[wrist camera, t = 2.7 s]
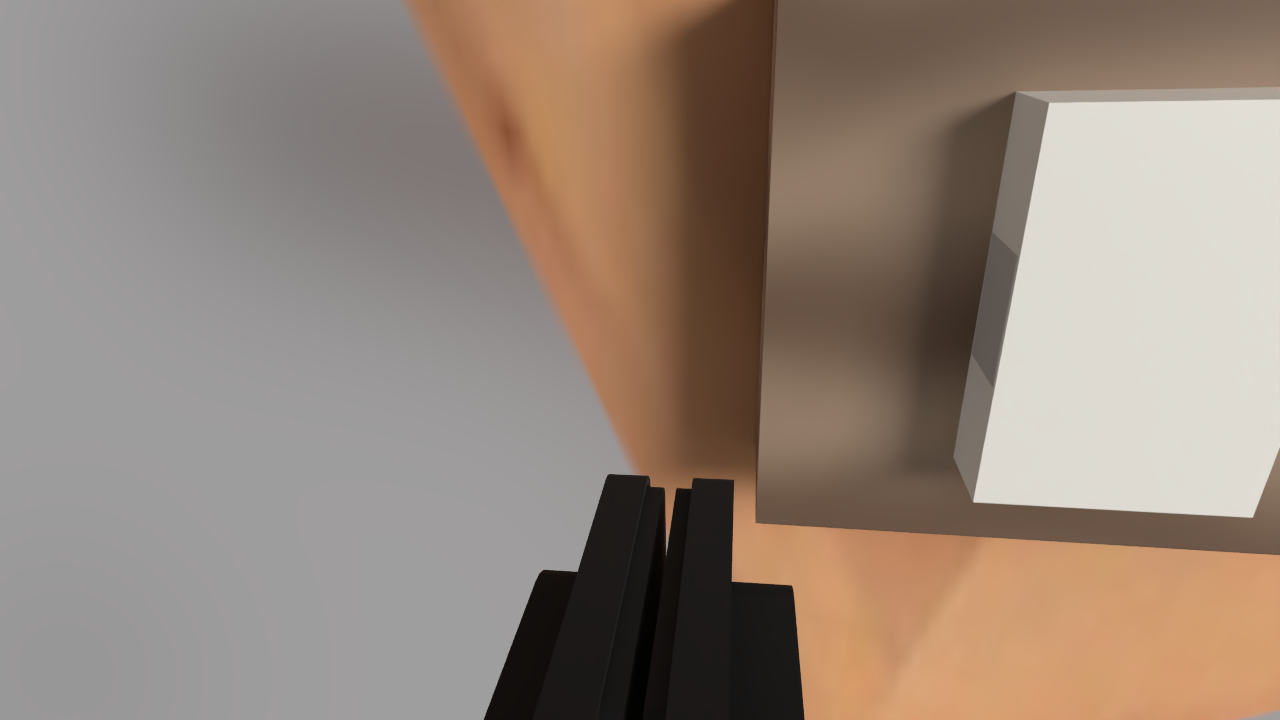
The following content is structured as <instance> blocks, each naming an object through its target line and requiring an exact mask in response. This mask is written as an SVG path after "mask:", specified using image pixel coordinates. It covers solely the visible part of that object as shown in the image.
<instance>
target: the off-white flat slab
mask: <svg viewBox="0 0 1280 720" xmlns="http://www.w3.org/2000/svg"><path fill="white" fill-rule="evenodd" d="M1279 448H1280V87H1261V88H1200V89H1139V90H1078V91H1017V92H1016V95H1015V101H1014V107H1013V113H1012V118H1011V124H1010V130H1009V136H1008V142H1007V147H1006V153H1005V159H1004V165H1003V171H1002V177H1001V182H1000V188H999V194H998V200H997V206H996V211H995V217H994V223H993V229H992V235H991V241H990V246H989V252H988V258H987V264H986V270H985V275H984V281H983V287H982V293H981V299H980V304H979V310H978V316H977V322H976V328H975V334H974V339H973V345H972V351H971V357H970V363H969V368H968V374H967V380H966V386H965V392H964V398H963V403H962V409H961V415H960V421H959V427H958V432H957V438H956V444H955V450H954V456H953V457H954V460H955V462H956V464H957V466H958V469H959V471H960V473H961V476H962V478H963V480H964V483H965V485H966V487H967V490H968V492H969V494H970V496H971V499H972V501H973V502H976V503H994V504H1012V505H1030V506H1048V507H1066V508H1085V509H1103V510H1121V511H1139V512H1157V513H1175V514H1193V515H1212V516H1230V517H1248V518H1253V516H1254V513H1255V510H1256V508H1257V505H1258V503H1259V500H1260V498H1261V495H1262V492H1263V490H1264V487H1265V485H1266V482H1267V479H1268V477H1269V474H1270V472H1271V469H1272V466H1273V464H1274V461H1275V459H1276V456H1277V453H1278V451H1279Z"/></svg>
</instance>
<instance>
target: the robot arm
mask: <svg viewBox="0 0 1280 720" xmlns="http://www.w3.org/2000/svg"><path fill="white" fill-rule="evenodd" d="M733 501H734V480H724V479H702V478H693V482H692V489H682V488H677V489H676V495H675V501H674V508H673V515H672V522H671V528H670V535H669V542H668V549H667V555H666V520H665V489H664V488H661V487H650V478H649V476H638V475H615V474H609V475H608V476H607V478H606V481H605V484H604V487H603V491H602V494H601V497H600V500H599V504H598V508H597V510H596V513H595V517H594V520H593V523H592V526H591V530H590V533H589V536H588V540H587V543H586V546H585V549H584V553H583V556H582V559H581V562H580V566H579V569H578V572H569V571H554V570H543V571H542V572H541V573H540V574H539V576H538V578H537V580H536V582H535V585H534V587H533V590H532V592H531V595H530V598H529V600H528V603H527V606H526V608H525V611H524V614H523V617H522V619H521V622H520V624H519V627H518V630H517V632H516V635H515V638H514V640H513V643H512V646H511V648H510V651H509V654H508V656H507V659H506V662H505V664H504V667H503V670H502V672H501V675H500V678H499V680H498V683H497V686H496V689H495V691H494V694H493V696H492V699H491V702H490V705H489V707H488V710H487V712H486V715H485V718H484V720H804V708H803V697H802V685H801V673H800V661H799V649H798V638H797V626H796V614H795V602H794V593H793V588H792V586H791V585H775V584H759V583H743V582H732V542H733Z"/></svg>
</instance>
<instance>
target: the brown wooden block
mask: <svg viewBox="0 0 1280 720" xmlns="http://www.w3.org/2000/svg"><path fill="white" fill-rule="evenodd" d="M1261 87H1280V0H774V18H773V42H772V67H771V91H770V115H769V140H768V164H767V188H766V213H765V237H764V261H763V286H762V310H761V334H760V359H759V383H758V407H757V432H756V523H763V524H779V525H796V526H812V527H828V528H845V529H861V530H878V531H894V532H910V533H927V534H943V535H959V536H976V537H992V538H1009V539H1025V540H1041V541H1058V542H1074V543H1090V544H1107V545H1123V546H1140V547H1156V548H1172V549H1189V550H1205V551H1221V552H1238V553H1254V554H1271V555H1280V448H1279V451H1278V453H1277V456H1276V459H1275V461H1274V464H1273V466H1272V469H1271V472H1270V474H1269V477H1268V479H1267V482H1266V485H1265V487H1264V490H1263V492H1262V495H1261V498H1260V500H1259V503H1258V505H1257V508H1256V510H1255V513H1254V516H1253V518H1248V517H1230V516H1212V515H1193V514H1175V513H1157V512H1139V511H1121V510H1103V509H1085V508H1066V507H1048V506H1030V505H1012V504H994V503H976V502H973V501H972V499H971V496H970V494H969V492H968V490H967V487H966V485H965V483H964V480H963V478H962V476H961V473H960V471H959V469H958V466H957V464H956V462H955V460H954V457H953V456H954V450H955V444H956V438H957V432H958V427H959V421H960V415H961V409H962V403H963V398H964V392H965V386H966V380H967V374H968V368H969V363H970V357H971V351H972V345H973V339H974V334H975V328H976V322H977V316H978V310H979V304H980V299H981V293H982V287H983V281H984V275H985V270H986V264H987V258H988V252H989V246H990V241H991V235H992V229H993V223H994V217H995V211H996V206H997V200H998V194H999V188H1000V182H1001V177H1002V171H1003V165H1004V159H1005V153H1006V147H1007V142H1008V136H1009V130H1010V124H1011V118H1012V113H1013V107H1014V101H1015V95H1016V92H1017V91H1078V90H1139V89H1200V88H1261Z"/></svg>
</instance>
